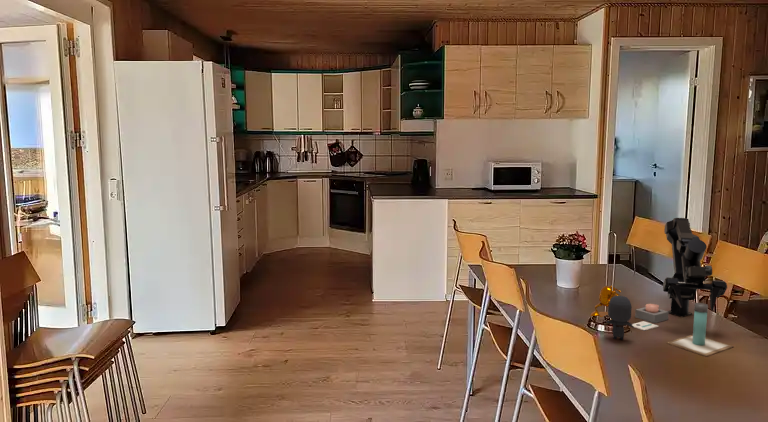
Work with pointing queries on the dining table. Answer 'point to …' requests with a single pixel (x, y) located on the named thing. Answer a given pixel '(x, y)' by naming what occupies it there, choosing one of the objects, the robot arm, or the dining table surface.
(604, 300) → the figurine
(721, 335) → the dining table surface
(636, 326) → the card
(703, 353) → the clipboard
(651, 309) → the button
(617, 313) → the toy
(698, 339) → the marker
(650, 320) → the button box
